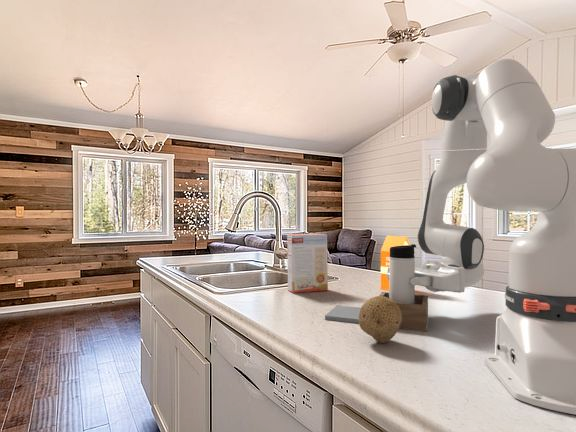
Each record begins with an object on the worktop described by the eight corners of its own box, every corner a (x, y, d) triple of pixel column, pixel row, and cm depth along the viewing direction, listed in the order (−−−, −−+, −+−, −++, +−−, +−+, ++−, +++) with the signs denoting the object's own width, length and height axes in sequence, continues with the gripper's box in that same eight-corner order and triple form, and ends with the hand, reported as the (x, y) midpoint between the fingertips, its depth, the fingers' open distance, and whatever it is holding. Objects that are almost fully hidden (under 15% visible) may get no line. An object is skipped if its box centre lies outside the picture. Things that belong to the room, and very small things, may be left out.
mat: (366, 324, 89) (366, 320, 89) (324, 319, 94) (324, 315, 94) (374, 312, 100) (374, 309, 100) (337, 308, 105) (337, 305, 105)
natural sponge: (380, 353, 70) (380, 303, 70) (349, 340, 78) (349, 294, 78) (410, 344, 75) (410, 297, 75) (379, 333, 83) (379, 290, 83)
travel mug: (417, 326, 88) (418, 245, 88) (390, 324, 89) (390, 245, 89) (413, 318, 94) (414, 243, 94) (388, 317, 96) (388, 243, 96)
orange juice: (392, 286, 139) (392, 235, 139) (412, 290, 132) (412, 236, 132) (380, 289, 134) (380, 236, 134) (401, 292, 127) (401, 237, 127)
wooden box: (426, 331, 84) (426, 306, 84) (374, 325, 89) (374, 301, 89) (427, 318, 95) (427, 295, 95) (382, 313, 100) (382, 291, 100)
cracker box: (321, 287, 136) (321, 233, 136) (328, 290, 130) (328, 233, 130) (286, 290, 131) (286, 233, 132) (292, 293, 126) (292, 234, 126)
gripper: (407, 259, 107) (372, 262, 101) (470, 268, 89) (431, 272, 83) (407, 280, 107) (372, 284, 101) (470, 293, 89) (431, 299, 83)
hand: (399, 279), depth 91 cm, fingers closed on travel mug, 6 cm apart
